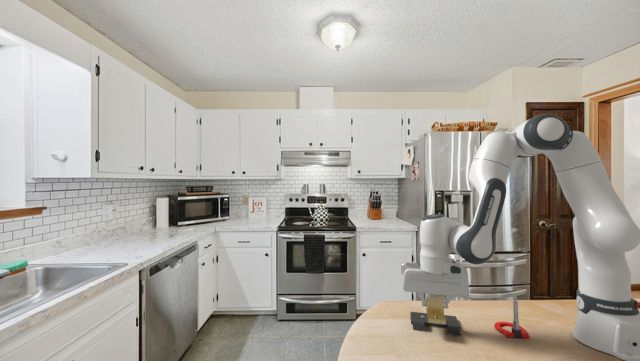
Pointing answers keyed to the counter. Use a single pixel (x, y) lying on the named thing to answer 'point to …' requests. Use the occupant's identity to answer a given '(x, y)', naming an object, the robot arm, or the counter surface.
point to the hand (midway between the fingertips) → (434, 306)
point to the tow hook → (513, 324)
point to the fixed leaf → (421, 320)
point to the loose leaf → (435, 310)
